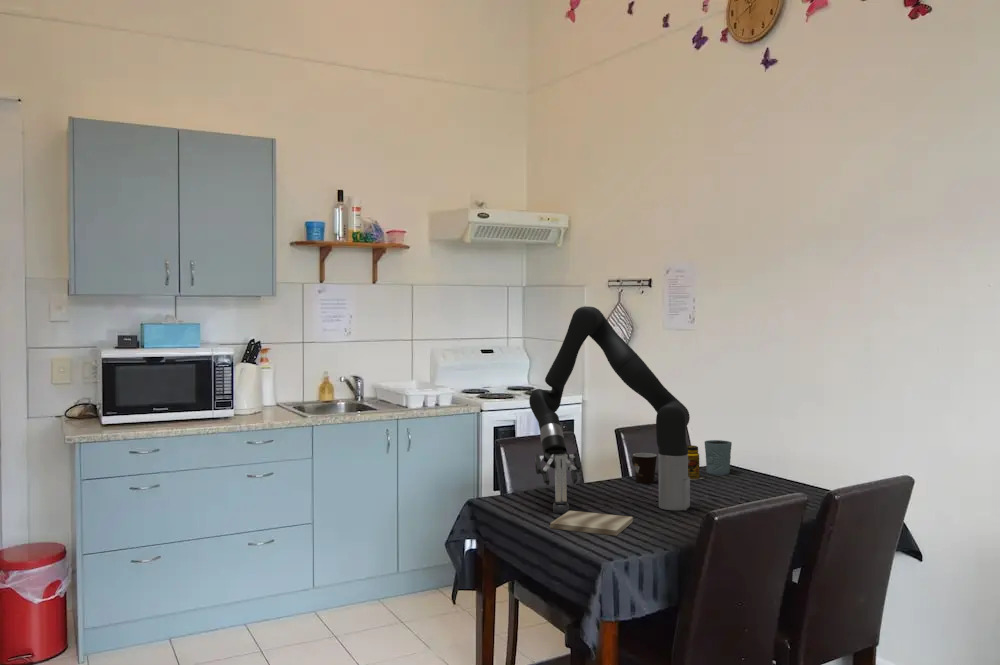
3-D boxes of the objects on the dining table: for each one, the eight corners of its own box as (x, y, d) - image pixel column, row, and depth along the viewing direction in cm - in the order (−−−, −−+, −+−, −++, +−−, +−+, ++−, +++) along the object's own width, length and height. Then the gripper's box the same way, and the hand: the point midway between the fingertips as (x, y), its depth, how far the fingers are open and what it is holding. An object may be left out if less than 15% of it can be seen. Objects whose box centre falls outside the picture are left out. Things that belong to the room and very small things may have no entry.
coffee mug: (659, 484, 288) (658, 457, 288) (635, 484, 288) (634, 457, 288) (653, 477, 300) (653, 451, 300) (630, 478, 300) (630, 451, 300)
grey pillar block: (566, 509, 253) (566, 453, 253) (570, 513, 248) (570, 455, 248) (551, 510, 253) (550, 453, 252) (555, 514, 248) (554, 456, 247)
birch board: (632, 521, 238) (632, 516, 237) (616, 535, 223) (616, 530, 223) (569, 515, 246) (569, 510, 246) (550, 528, 232) (550, 523, 232)
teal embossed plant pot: (705, 475, 304) (705, 443, 304) (703, 469, 314) (703, 439, 314) (733, 475, 302) (733, 444, 302) (730, 470, 312) (730, 439, 312)
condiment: (688, 480, 294) (688, 448, 294) (675, 476, 302) (675, 444, 302) (705, 478, 297) (704, 446, 297) (691, 474, 305) (691, 443, 305)
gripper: (532, 434, 256) (540, 477, 245) (575, 433, 259) (585, 475, 248) (529, 448, 262) (537, 490, 251) (571, 446, 264) (581, 488, 253)
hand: (561, 482), depth 249 cm, fingers open, 8 cm apart
